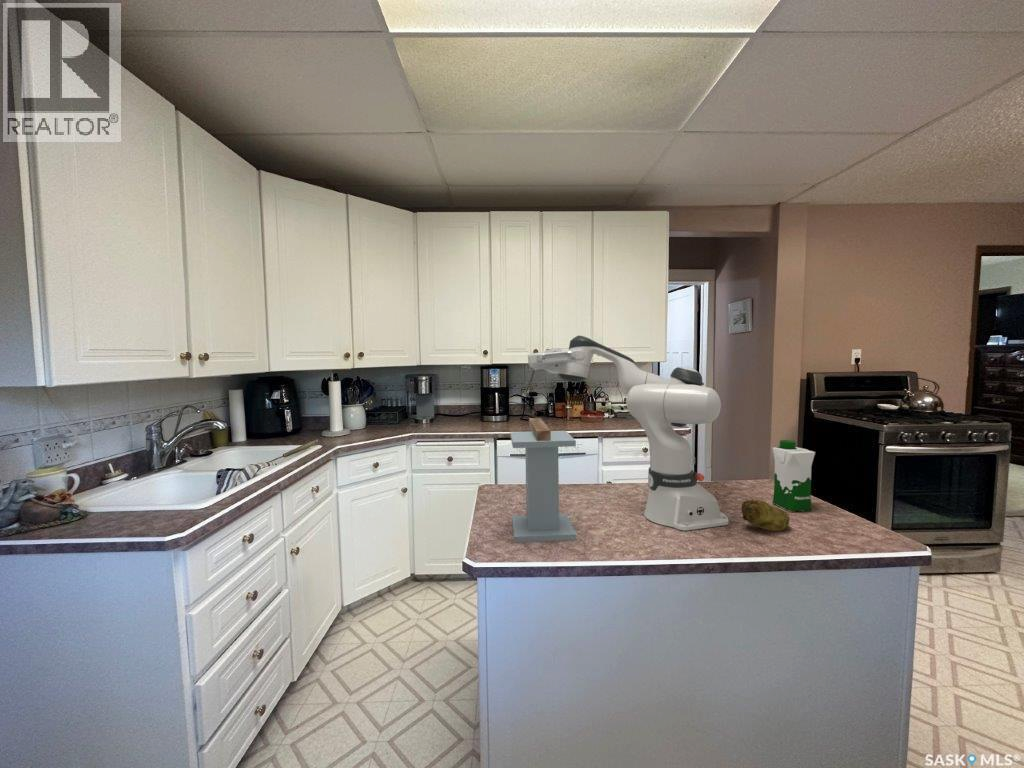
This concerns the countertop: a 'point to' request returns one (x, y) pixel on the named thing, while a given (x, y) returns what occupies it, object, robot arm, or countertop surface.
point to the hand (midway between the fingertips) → (556, 355)
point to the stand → (542, 490)
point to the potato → (764, 515)
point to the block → (539, 429)
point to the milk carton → (792, 476)
